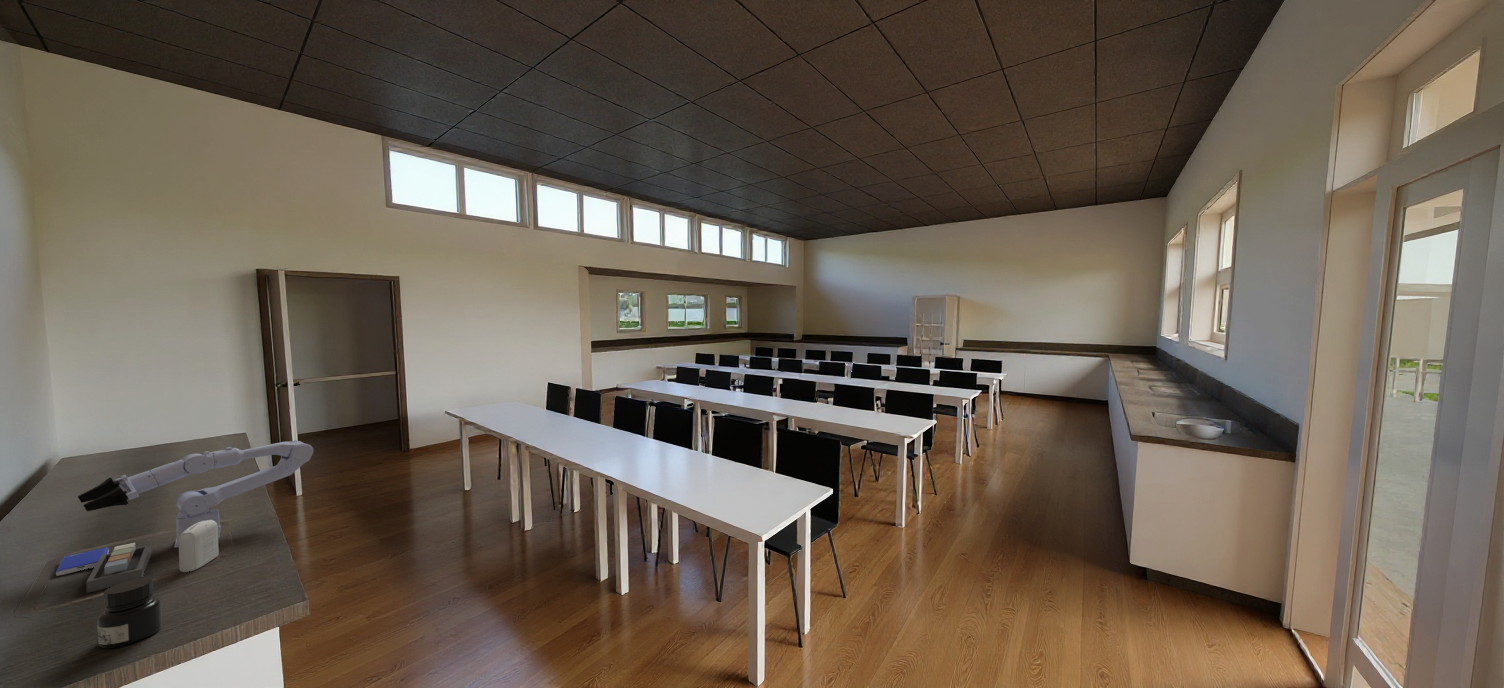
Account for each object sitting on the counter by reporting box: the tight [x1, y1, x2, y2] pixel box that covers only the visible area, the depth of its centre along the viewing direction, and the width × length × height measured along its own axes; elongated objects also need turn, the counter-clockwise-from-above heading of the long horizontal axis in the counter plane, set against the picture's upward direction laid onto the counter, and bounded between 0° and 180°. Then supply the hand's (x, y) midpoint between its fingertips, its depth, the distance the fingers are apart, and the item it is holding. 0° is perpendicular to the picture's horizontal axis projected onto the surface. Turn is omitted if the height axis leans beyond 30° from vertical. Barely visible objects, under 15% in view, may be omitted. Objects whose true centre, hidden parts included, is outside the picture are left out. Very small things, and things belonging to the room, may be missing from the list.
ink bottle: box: [96, 577, 163, 649], centre depth 109 cm, size 10×9×12 cm
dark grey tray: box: [85, 544, 152, 594], centre depth 136 cm, size 9×21×3 cm, turn 47°
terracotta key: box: [107, 553, 131, 564], centre depth 134 cm, size 4×4×3 cm
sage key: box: [110, 548, 133, 558], centre depth 138 cm, size 4×4×3 cm
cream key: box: [112, 542, 136, 553], centre depth 141 cm, size 4×4×3 cm
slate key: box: [104, 558, 128, 575], centre depth 131 cm, size 4×4×3 cm
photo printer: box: [178, 520, 220, 573], centre depth 141 cm, size 10×4×12 cm, turn 20°
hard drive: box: [55, 546, 110, 576], centre depth 140 cm, size 2×8×12 cm
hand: (82, 503), depth 137 cm, fingers open, 7 cm apart
